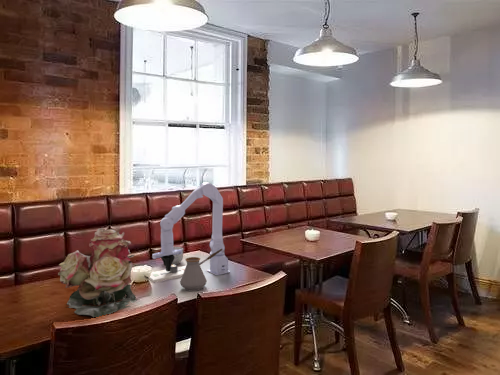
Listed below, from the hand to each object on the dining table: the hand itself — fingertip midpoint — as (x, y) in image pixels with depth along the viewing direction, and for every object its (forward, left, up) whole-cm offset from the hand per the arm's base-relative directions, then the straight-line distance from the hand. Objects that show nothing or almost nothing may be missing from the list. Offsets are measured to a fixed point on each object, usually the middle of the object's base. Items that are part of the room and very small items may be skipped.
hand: (168, 270), depth 195 cm
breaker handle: (0, -3, -1) cm, 3 cm away
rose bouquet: (-20, +36, -2) cm, 41 cm away
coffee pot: (-23, -6, -2) cm, 24 cm away
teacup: (+17, -11, -2) cm, 20 cm away
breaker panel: (0, -1, -2) cm, 3 cm away
